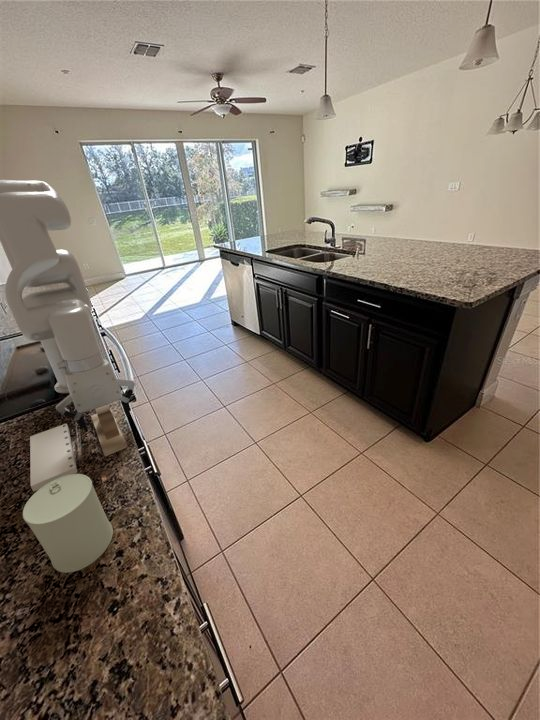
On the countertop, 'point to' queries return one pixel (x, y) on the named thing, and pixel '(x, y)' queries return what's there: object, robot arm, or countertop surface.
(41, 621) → the countertop surface
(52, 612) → the countertop surface
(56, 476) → the board
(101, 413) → the stub
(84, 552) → the can
